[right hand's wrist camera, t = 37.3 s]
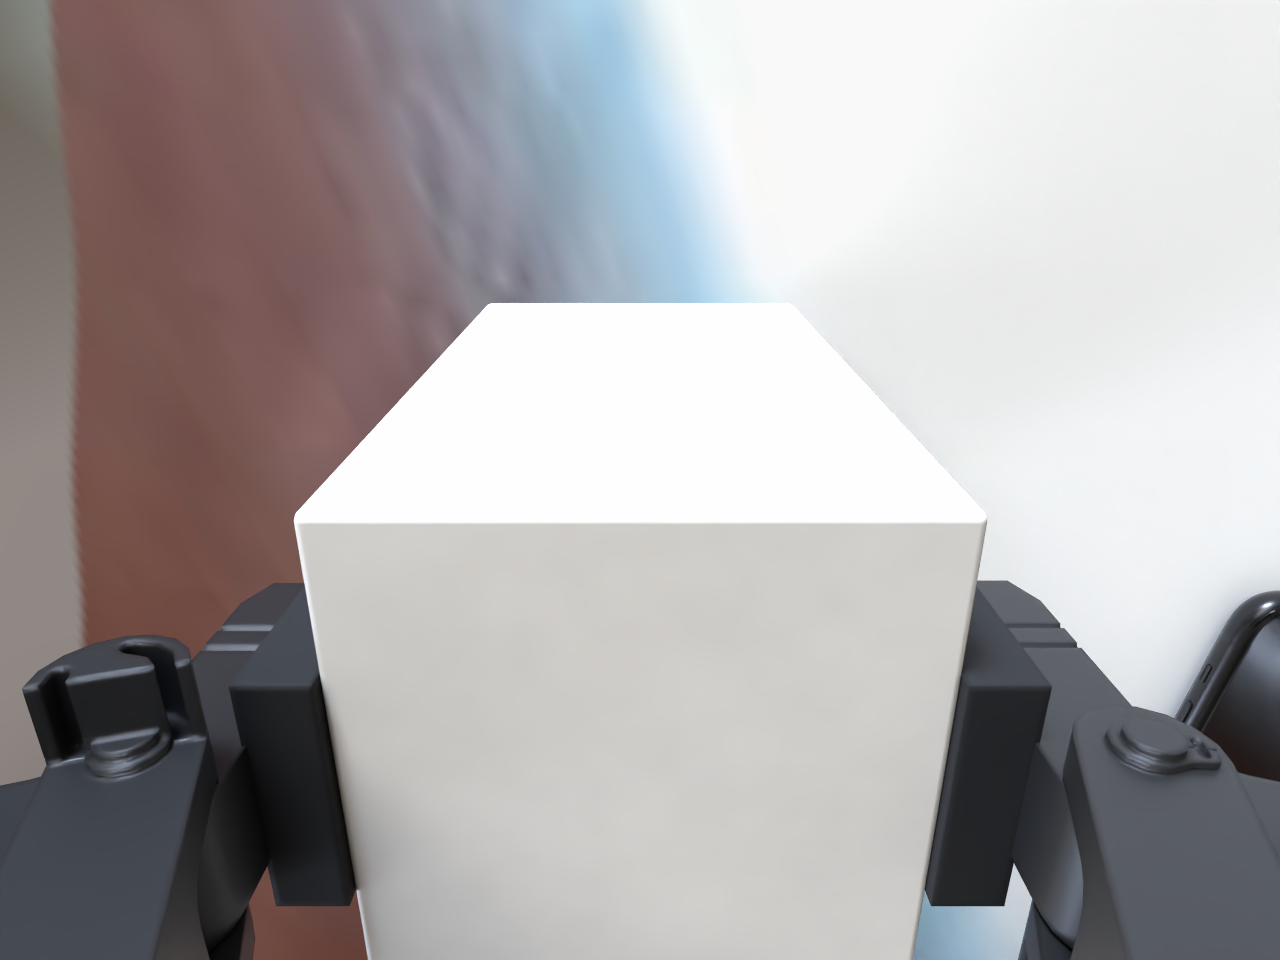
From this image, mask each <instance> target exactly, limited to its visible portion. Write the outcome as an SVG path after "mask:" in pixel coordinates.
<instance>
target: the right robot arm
mask: <svg viewBox="0 0 1280 960" xmlns="http://www.w3.org/2000/svg"><path fill="white" fill-rule="evenodd" d="M22 691H23V694H24V697H25V700H26V703H27V706H28V710H29V713H30V716H31V719H32V722H33V725H34V728H35V731H36V734H37V737H38V740H39V743H40V746H41V749H42V752H43V755H44V758H45V761H46V764H47V766H46V768H45V770H44V772H43V774H42V776H41V777H38V778H34V779H31V780H26V781H21V782H16V783H11V784H6V785H2V786H0V960H253V951H254V943H255V934H254V927H253V920H252V916H251V911H250V907H249V903H248V902H249V900H250V899H251V897H252V895H253V893H254V891H255V889H256V887H257V885H258V883H259V881H260V879H261V877H262V875H263V873H264V871H265V869H266V867H267V865H268V870H269V874H270V879H271V884H272V888H273V893H274V897H275V902H276V906H350V903H351V901H352V898H353V895H354V893H355V890H356V884H355V878H354V872H353V866H352V860H351V855H350V849H349V843H348V837H347V831H346V825H345V819H344V813H343V807H342V801H341V796H340V790H339V784H338V778H337V772H336V766H335V760H334V754H333V748H332V743H331V737H330V731H329V725H328V719H327V713H326V707H325V701H324V695H323V689H322V684H321V678H320V672H319V666H318V660H317V654H316V648H315V642H314V636H313V631H312V625H311V619H310V613H309V607H308V601H307V595H306V589H305V583H274V584H272V585H270V586H269V587H267V588H266V589H264V590H262V591H261V592H259V593H257V594H256V595H254V596H252V597H251V598H249V599H247V600H246V601H244V602H242V603H241V604H240V605H239V606H238V608H237V609H236V610H235V611H234V612H233V613H232V614H231V616H230V617H229V618H228V619H227V620H226V621H225V623H224V624H223V625H222V626H221V631H217V632H216V633H215V634H214V635H213V637H212V638H211V639H210V640H209V641H208V642H207V643H206V645H205V646H204V651H200V652H199V653H198V654H197V655H196V656H195V657H194V659H193V660H191V656H190V652H189V648H188V647H186V646H185V645H184V644H182V643H181V642H180V641H178V640H177V639H174V638H169V637H164V636H158V635H140V636H125V637H121V638H116V639H112V640H107V641H103V642H99V643H94V644H92V645H89V646H87V647H84V648H82V649H79V650H77V651H74V652H72V653H69V654H67V655H64V656H62V657H61V658H59V659H57V660H56V661H54V662H52V663H51V664H49V665H48V666H46V667H44V668H43V669H41V670H39V671H38V672H37V673H36V674H35V675H34V676H33V677H32V678H31V679H30V680H29V681H28V682H27V683H26V685H25V686H24V687H23V688H22ZM1013 863H1014V864H1015V866H1016V868H1017V870H1018V872H1019V874H1020V875H1021V877H1022V879H1023V881H1024V883H1025V885H1026V887H1027V889H1028V891H1029V893H1030V895H1031V897H1032V903H1031V907H1030V911H1029V916H1028V920H1027V924H1026V928H1025V933H1024V937H1023V941H1022V945H1021V950H1020V954H1019V958H1018V960H1280V782H1278V781H1273V780H1268V779H1263V778H1258V777H1254V776H1250V775H1246V774H1242V773H1238V772H1237V770H1236V768H1235V766H1234V764H1233V763H1232V761H1231V760H1230V759H1229V758H1228V756H1227V755H1226V754H1225V753H1224V751H1223V750H1222V749H1221V748H1220V746H1219V745H1218V744H1216V743H1215V742H1214V741H1212V740H1211V739H1209V738H1208V737H1207V736H1205V735H1204V734H1202V733H1201V732H1200V731H1198V730H1197V729H1195V728H1194V727H1192V726H1189V725H1187V724H1185V723H1183V722H1181V721H1178V720H1176V719H1174V718H1172V717H1170V716H1168V715H1165V714H1161V713H1158V712H1154V711H1150V710H1146V709H1142V708H1139V707H1133V706H1131V705H1130V703H1129V702H1128V701H1127V700H1126V699H1125V698H1124V697H1123V695H1122V694H1121V693H1120V692H1119V691H1118V690H1117V688H1116V687H1115V686H1114V685H1113V684H1112V683H1111V682H1110V680H1109V679H1108V678H1107V677H1106V676H1105V675H1104V674H1103V672H1102V671H1101V670H1100V669H1099V668H1098V667H1097V665H1096V664H1095V663H1094V662H1093V661H1092V660H1091V659H1090V657H1089V656H1088V655H1087V654H1086V653H1085V652H1084V651H1083V649H1082V648H1077V642H1076V641H1075V640H1074V639H1073V638H1072V637H1071V636H1070V634H1069V633H1068V632H1067V631H1066V630H1065V629H1064V628H1060V623H1059V622H1058V621H1057V619H1056V618H1055V617H1054V616H1053V615H1052V614H1051V613H1050V611H1049V610H1048V609H1047V608H1046V607H1045V606H1044V605H1043V603H1042V602H1041V601H1040V600H1038V599H1037V598H1035V597H1033V596H1032V595H1030V594H1028V593H1027V592H1025V591H1023V590H1022V589H1020V588H1018V587H1017V586H1015V585H1013V584H1012V583H1010V582H1008V581H977V584H976V590H975V595H974V601H973V607H972V613H971V619H970V625H969V631H968V637H967V643H966V648H965V654H964V660H963V666H962V672H961V678H960V684H959V690H958V695H957V701H956V707H955V713H954V719H953V725H952V731H951V737H950V743H949V748H948V754H947V760H946V766H945V772H944V778H943V784H942V790H941V796H940V801H939V807H938V813H937V819H936V825H935V831H934V837H933V843H932V848H931V854H930V860H929V866H928V872H927V878H926V884H925V891H926V894H927V897H928V899H929V902H930V904H931V906H1004V905H1005V900H1006V895H1007V891H1008V886H1009V882H1010V877H1011V873H1012V868H1013Z"/></svg>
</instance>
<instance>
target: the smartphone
mask: <svg viewBox="0 0 1280 960" xmlns="http://www.w3.org/2000/svg"><path fill="white" fill-rule="evenodd" d="M1174 719H1176V720H1178V721H1181V722H1183V723H1185V724H1187V725H1189V726H1192V727H1194V728H1195V729H1197V730H1198V731H1200V732H1201V733H1202V734H1204V735H1205V736H1207V737H1208V738H1209V739H1211V740H1212V741H1214V742H1215V743H1216V744H1218V745H1219V746H1220V748H1221V749H1222V750H1223V751H1224V753H1225V754H1226V755H1227V756H1228V758H1229V759H1230V760H1231V761H1232V763H1233V764H1234V766H1235V768H1236V770H1237V772H1238V773H1242V774H1246V775H1250V776H1254V777H1258V778H1263V779H1268V780H1273V781H1278V782H1280V591H1270V592H1265V593H1261V594H1258V595H1256V596H1253V597H1251V598H1250V599H1248V600H1247V601H1245V602H1244V603H1243V604H1241V605H1240V606H1239V607H1238V608H1237V609H1236V610H1235V612H1234V613H1233V614H1232V615H1231V617H1230V618H1229V620H1228V621H1227V623H1226V624H1225V626H1224V628H1223V630H1222V632H1221V633H1220V635H1219V637H1218V639H1217V641H1216V643H1215V644H1214V646H1213V648H1212V650H1211V652H1210V654H1209V655H1208V657H1207V659H1206V661H1205V663H1204V665H1203V666H1202V668H1201V670H1200V672H1199V674H1198V676H1197V677H1196V679H1195V681H1194V683H1193V685H1192V687H1191V688H1190V690H1189V692H1188V694H1187V696H1186V698H1185V699H1184V701H1183V703H1182V705H1181V707H1180V709H1179V711H1178V712H1177V714H1176V716H1175V718H1174Z"/></svg>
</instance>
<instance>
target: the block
mask: <svg viewBox="0 0 1280 960" xmlns="http://www.w3.org/2000/svg"><path fill="white" fill-rule="evenodd" d="M294 524H295V530H296V536H297V542H298V548H299V554H300V560H301V566H302V572H303V577H304V583H305V589H306V595H307V601H308V607H309V613H310V619H311V625H312V631H313V636H314V642H315V648H316V654H317V660H318V666H319V672H320V678H321V684H322V689H323V695H324V701H325V707H326V713H327V719H328V725H329V731H330V737H331V743H332V748H333V754H334V760H335V766H336V772H337V778H338V784H339V790H340V796H341V801H342V807H343V813H344V819H345V825H346V831H347V837H348V843H349V849H350V855H351V860H352V866H353V872H354V878H355V884H356V890H357V896H358V902H359V908H360V913H361V919H362V925H363V931H364V937H365V943H366V949H367V955H368V960H913V954H914V948H915V943H916V937H917V931H918V925H919V919H920V913H921V907H922V901H923V896H924V890H925V884H926V878H927V872H928V866H929V860H930V854H931V848H932V843H933V837H934V831H935V825H936V819H937V813H938V807H939V801H940V796H941V790H942V784H943V778H944V772H945V766H946V760H947V754H948V748H949V743H950V737H951V731H952V725H953V719H954V713H955V707H956V701H957V695H958V690H959V684H960V678H961V672H962V666H963V660H964V654H965V648H966V643H967V637H968V631H969V625H970V619H971V613H972V607H973V601H974V595H975V590H976V584H977V578H978V572H979V566H980V560H981V554H982V548H983V543H984V537H985V531H986V525H987V518H986V514H985V512H984V511H983V510H982V509H981V508H980V507H979V506H978V505H977V504H976V503H975V502H974V501H973V499H972V498H971V497H970V496H969V495H968V494H967V493H966V492H965V491H964V490H963V489H962V488H961V487H960V485H959V484H958V483H957V482H956V481H955V480H954V479H953V478H952V477H951V476H950V475H949V474H948V473H947V471H946V470H945V469H944V468H943V467H942V466H941V465H940V464H939V463H938V462H937V461H936V460H935V458H934V457H933V456H932V455H931V454H930V453H929V452H928V451H927V450H926V449H925V448H924V447H923V446H922V444H921V443H920V442H919V441H918V440H917V439H916V438H915V437H914V436H913V435H912V434H911V433H910V432H909V430H908V429H907V428H906V427H905V426H904V425H903V424H902V423H901V422H900V421H899V420H898V419H897V417H896V416H895V415H894V414H893V413H892V412H891V411H890V410H889V409H888V408H887V407H886V406H885V405H884V403H883V402H882V401H881V400H880V399H879V398H878V397H877V396H876V395H875V394H874V393H873V392H872V390H871V389H870V388H869V387H868V386H867V385H866V384H865V383H864V382H863V381H862V380H861V379H860V378H859V376H858V375H857V374H856V373H855V372H854V371H853V370H852V369H851V368H850V367H849V366H848V365H847V364H846V362H845V361H844V360H843V359H842V358H841V357H840V356H839V355H838V354H837V353H836V352H835V351H834V349H833V348H832V347H831V346H830V345H829V344H828V343H827V342H826V341H825V340H824V339H823V338H822V337H821V335H820V334H819V333H818V332H817V331H816V330H815V329H814V328H813V327H812V326H811V325H810V324H809V323H808V321H807V320H806V319H805V318H804V317H803V316H802V315H801V314H800V313H799V312H798V311H797V310H796V308H795V307H794V306H793V305H792V304H789V303H491V304H489V305H487V306H486V308H485V309H484V310H483V311H482V312H481V313H480V314H479V315H478V316H477V317H476V318H475V319H474V321H473V322H472V323H471V324H470V325H469V326H468V327H467V328H466V329H465V330H464V331H463V332H462V334H461V335H460V336H459V337H458V338H457V339H456V340H455V341H454V342H453V343H452V344H451V346H450V347H449V348H448V349H447V350H446V351H445V352H444V353H443V354H442V355H441V356H440V357H439V359H438V360H437V361H436V362H435V363H434V364H433V365H432V366H431V367H430V368H429V369H428V370H427V372H426V373H425V374H424V375H423V376H422V377H421V378H420V379H419V380H418V381H417V382H416V384H415V385H414V386H413V387H412V388H411V389H410V390H409V391H408V392H407V393H406V394H405V395H404V397H403V398H402V399H401V400H400V401H399V402H398V403H397V404H396V405H395V406H394V407H393V408H392V410H391V411H390V412H389V413H388V414H387V415H386V416H385V417H384V418H383V419H382V420H381V422H380V423H379V424H378V425H377V426H376V427H375V428H374V429H373V430H372V431H371V432H370V433H369V435H368V436H367V437H366V438H365V439H364V440H363V441H362V442H361V443H360V444H359V445H358V446H357V448H356V449H355V450H354V451H353V452H352V453H351V454H350V455H349V456H348V457H347V458H346V460H345V461H344V462H343V463H342V464H341V465H340V466H339V467H338V468H337V469H336V470H335V471H334V473H333V474H332V475H331V476H330V477H329V478H328V479H327V480H326V481H325V482H324V483H323V484H322V486H321V487H320V488H319V489H318V490H317V491H316V492H315V493H314V494H313V495H312V496H311V498H310V499H309V500H308V501H307V502H306V503H305V504H304V505H303V506H302V507H301V508H300V509H299V511H298V512H297V513H296V515H295V518H294Z"/></svg>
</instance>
